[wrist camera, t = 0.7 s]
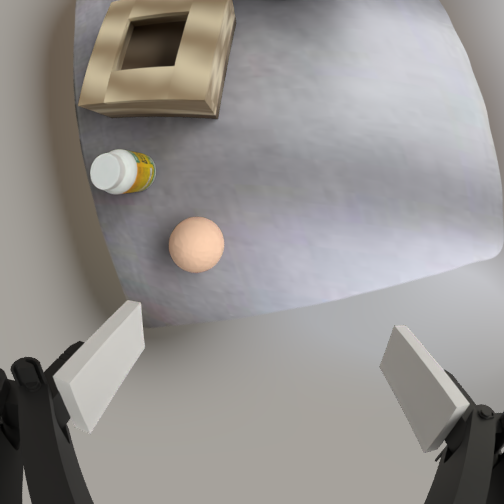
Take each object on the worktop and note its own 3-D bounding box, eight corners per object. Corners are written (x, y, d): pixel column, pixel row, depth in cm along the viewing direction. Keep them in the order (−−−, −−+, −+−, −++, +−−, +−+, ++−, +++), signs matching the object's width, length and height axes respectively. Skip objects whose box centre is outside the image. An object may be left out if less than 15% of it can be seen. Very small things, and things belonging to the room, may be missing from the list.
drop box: (135, 27, 29) (111, 2, 20) (236, 22, 29) (230, -12, 20) (111, 117, 33) (77, 105, 24) (218, 118, 33) (204, 100, 24)
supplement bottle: (118, 183, 35) (79, 186, 26) (131, 148, 34) (94, 140, 25) (148, 197, 36) (114, 203, 26) (163, 161, 34) (132, 155, 25)
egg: (169, 234, 37) (147, 248, 29) (205, 203, 36) (190, 209, 28) (200, 271, 38) (186, 293, 30) (237, 242, 37) (231, 258, 29)
